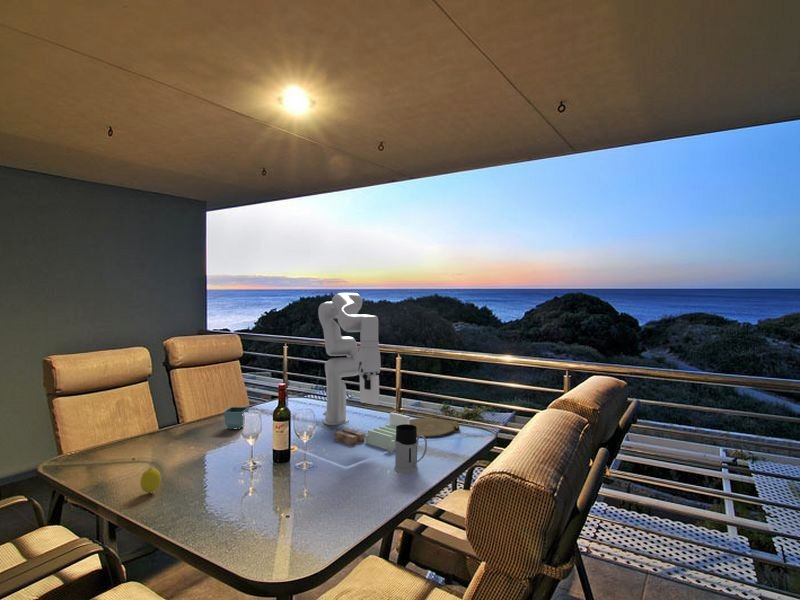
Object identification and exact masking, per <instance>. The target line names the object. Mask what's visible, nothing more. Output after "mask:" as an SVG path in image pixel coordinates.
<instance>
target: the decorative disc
mask: <svg viewBox="0 0 800 600" xmlns="http://www.w3.org/2000/svg"><path fill="white" fill-rule="evenodd" d="M410 425H414V426H416V427H417V438H418V436H420V435H422V436H424V437H425V438H436V437H441V436H445V435H449V434H450V433H453V432H454V433H460V424H459V423H458V421H451V420H448V419H443V418H437V417H436V418H435V417H423V418H413V419H410Z"/></svg>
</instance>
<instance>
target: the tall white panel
mask: <svg viewBox="0 0 800 600" xmlns="http://www.w3.org/2000/svg"><path fill="white" fill-rule="evenodd" d="M366 375H367V374H366ZM369 380H371V389H370V390H368V389H365V388H364V379H363V377H362V376H359V402H360V403H364V404H368V405H369V404H370V405H373V406H374V405H375V406H378V405H380V375H379V374H377V375H372V374H370V379H369Z"/></svg>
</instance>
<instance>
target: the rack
mask: <svg viewBox="0 0 800 600" xmlns="http://www.w3.org/2000/svg"><path fill="white" fill-rule="evenodd" d="M410 420H411V419H410V416H409V415H404V414H400V413H395V412H390V413H389V424H387V423H385V425H384V426H382V425H380V426H379V427H374V428H373V430H372V429H367V434H365V439H364V441H365V442H364V443H366V444H368V445H372V446H374V447H378V448H381V449H384V450H386V452H387V453H391V452H393V451H395V439H396V426H398V425H403V424H409V425H410Z"/></svg>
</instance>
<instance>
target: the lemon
mask: <svg viewBox="0 0 800 600" xmlns="http://www.w3.org/2000/svg"><path fill="white" fill-rule="evenodd" d="M161 483H162V478H161V473H160V471H159V470H158V469H156V468H153V467H150V468H148V469H146V470H145V471H144V472H143V473H142V475H141V478H140V487H141V489H142V491H143V492H145V493H148V492H152V493H154V492H155V491H157V490H158V489H159V487H160V485H161Z"/></svg>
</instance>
